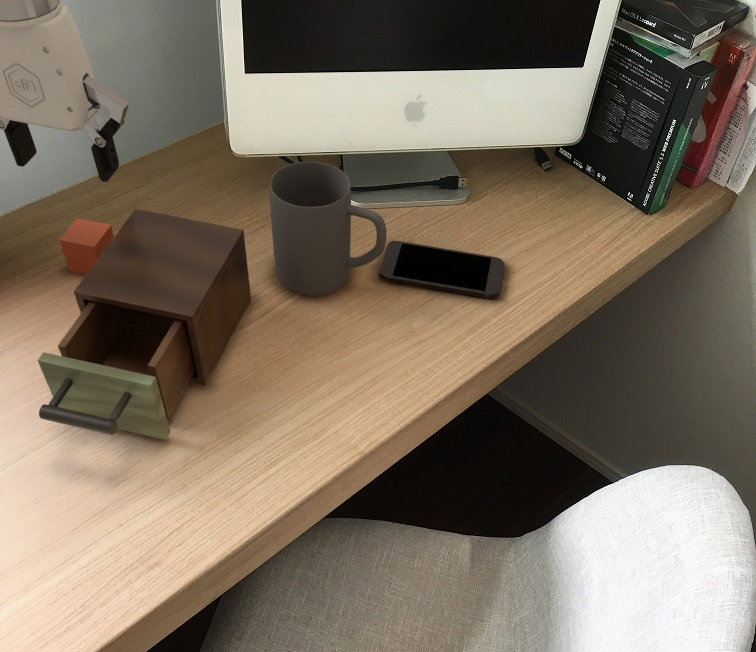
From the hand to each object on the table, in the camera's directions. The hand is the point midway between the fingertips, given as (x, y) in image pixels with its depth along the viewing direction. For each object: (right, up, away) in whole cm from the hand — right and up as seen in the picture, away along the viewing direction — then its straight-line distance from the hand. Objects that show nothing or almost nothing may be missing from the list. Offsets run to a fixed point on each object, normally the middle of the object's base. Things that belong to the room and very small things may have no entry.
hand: (68, 167), depth 85 cm
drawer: (+8, -26, -4) cm, 27 cm away
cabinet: (+11, -17, +4) cm, 20 cm away
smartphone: (+42, -8, +12) cm, 44 cm away
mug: (+28, -9, +11) cm, 31 cm away
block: (-1, -7, +10) cm, 13 cm away
